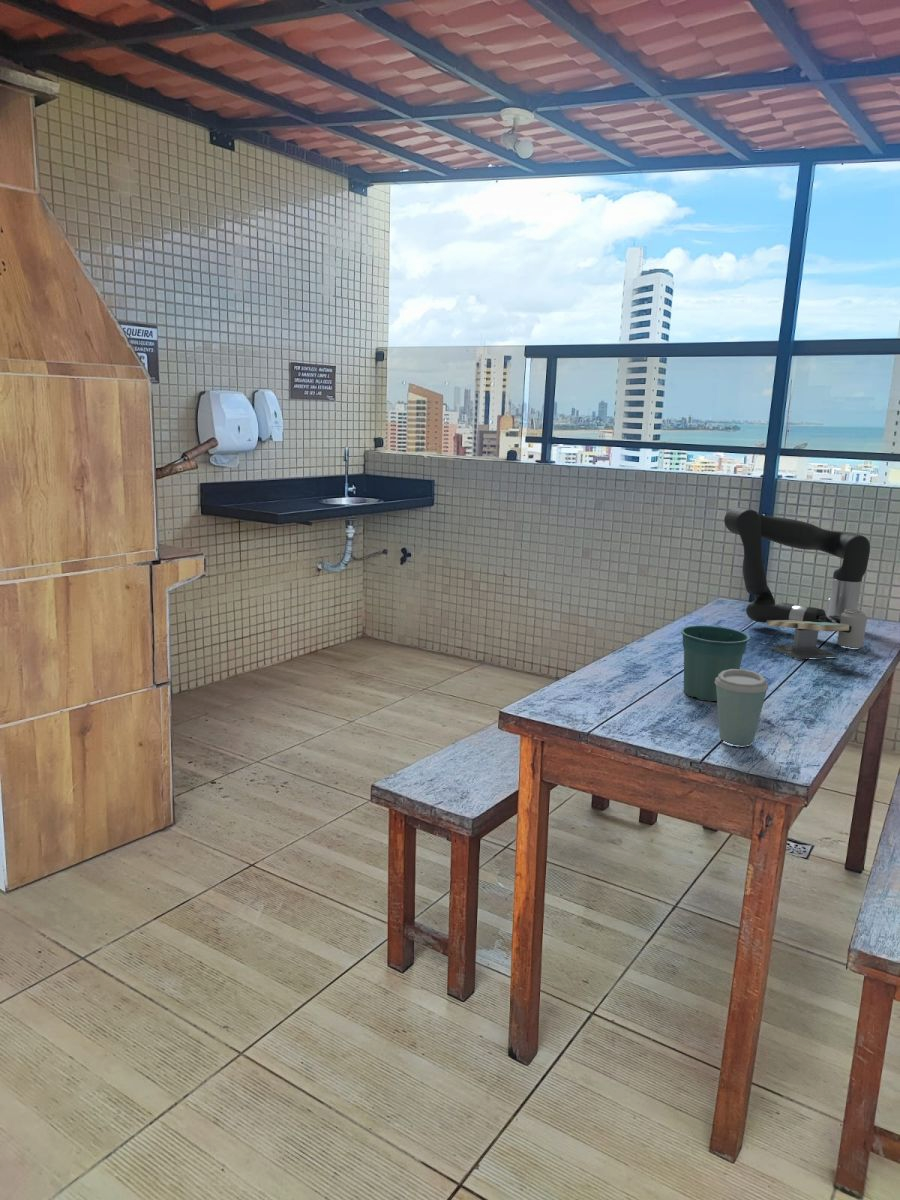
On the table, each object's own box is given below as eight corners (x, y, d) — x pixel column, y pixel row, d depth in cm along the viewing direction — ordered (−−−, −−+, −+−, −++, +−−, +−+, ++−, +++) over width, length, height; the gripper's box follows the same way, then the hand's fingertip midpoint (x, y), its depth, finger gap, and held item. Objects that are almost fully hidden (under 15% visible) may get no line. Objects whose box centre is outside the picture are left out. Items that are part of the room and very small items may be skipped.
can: (866, 651, 264) (872, 613, 262) (842, 649, 264) (848, 612, 262) (856, 644, 271) (861, 608, 269) (832, 643, 271) (837, 607, 269)
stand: (771, 649, 260) (774, 625, 258) (808, 648, 264) (811, 623, 262) (797, 660, 249) (801, 634, 247) (836, 658, 253) (840, 633, 251)
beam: (764, 625, 266) (764, 619, 266) (789, 624, 269) (789, 619, 269) (824, 631, 241) (824, 625, 241) (851, 630, 244) (851, 624, 244)
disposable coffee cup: (760, 755, 172) (769, 685, 169) (705, 746, 176) (713, 677, 173) (761, 738, 182) (770, 672, 179) (710, 730, 185) (717, 665, 182)
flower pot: (729, 710, 200) (737, 645, 196) (664, 695, 209) (670, 632, 206) (751, 695, 213) (759, 633, 209) (689, 681, 222) (695, 622, 219)
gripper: (798, 609, 272) (848, 618, 260) (818, 604, 281) (868, 613, 269) (795, 631, 273) (845, 642, 261) (815, 626, 283) (864, 636, 271)
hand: (856, 627), depth 265 cm, fingers open, 8 cm apart
